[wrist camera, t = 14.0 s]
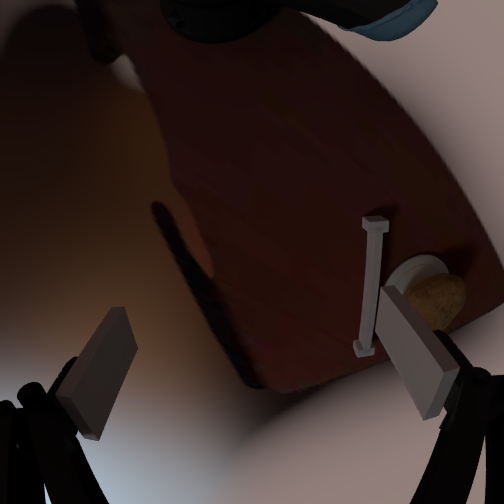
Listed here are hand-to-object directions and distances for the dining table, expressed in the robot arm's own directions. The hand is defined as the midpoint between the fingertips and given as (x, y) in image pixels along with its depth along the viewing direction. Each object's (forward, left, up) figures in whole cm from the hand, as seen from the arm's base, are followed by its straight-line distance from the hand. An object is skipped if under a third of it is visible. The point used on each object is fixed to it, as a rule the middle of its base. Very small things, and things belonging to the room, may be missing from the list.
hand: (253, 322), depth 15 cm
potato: (+17, +27, -28) cm, 42 cm away
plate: (+17, +27, -29) cm, 43 cm away
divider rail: (+15, +18, -29) cm, 37 cm away
